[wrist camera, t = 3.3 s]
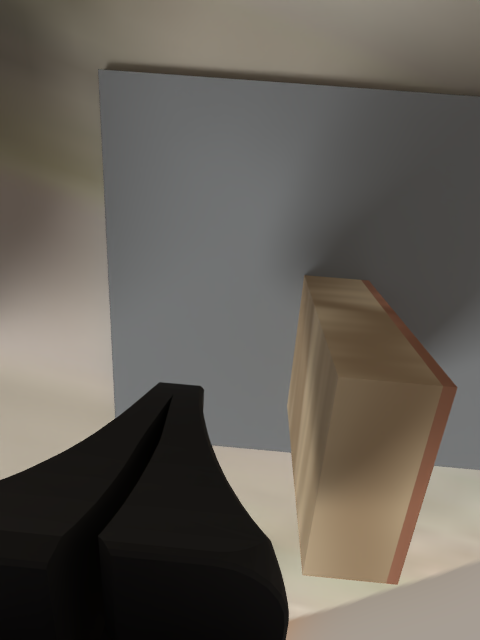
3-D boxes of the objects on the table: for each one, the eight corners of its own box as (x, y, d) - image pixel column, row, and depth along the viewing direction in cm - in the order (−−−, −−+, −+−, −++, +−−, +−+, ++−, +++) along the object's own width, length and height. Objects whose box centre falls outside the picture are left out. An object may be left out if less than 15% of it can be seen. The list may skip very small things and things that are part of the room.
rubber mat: (118, 431, 20) (116, 436, 20) (102, 71, 14) (98, 69, 14) (542, 470, 19) (547, 476, 19) (694, 114, 14) (707, 112, 14)
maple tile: (287, 406, 18) (302, 575, 11) (304, 275, 16) (338, 377, 9) (343, 411, 18) (397, 584, 11) (368, 280, 16) (457, 387, 9)
